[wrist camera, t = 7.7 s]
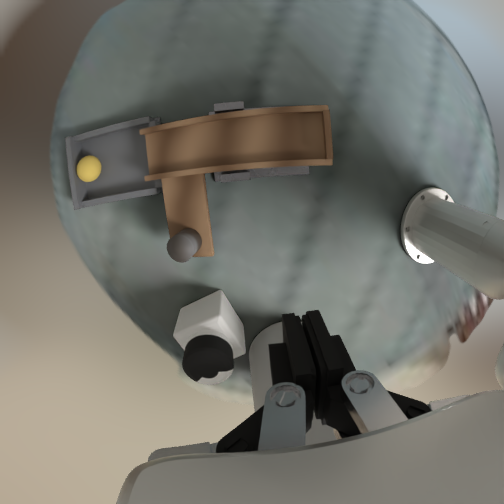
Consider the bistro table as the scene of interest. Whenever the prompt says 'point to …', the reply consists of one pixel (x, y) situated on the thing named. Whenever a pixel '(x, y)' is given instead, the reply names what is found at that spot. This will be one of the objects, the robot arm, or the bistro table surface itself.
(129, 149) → the tray
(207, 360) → the medicine bottle
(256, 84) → the bistro table surface
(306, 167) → the stand
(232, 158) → the lever
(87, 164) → the ball
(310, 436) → the cylinder vase
